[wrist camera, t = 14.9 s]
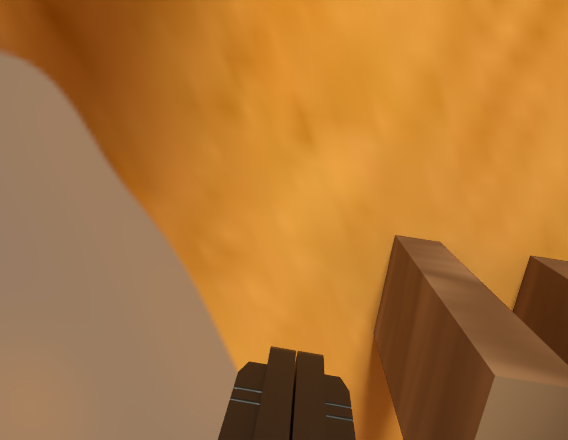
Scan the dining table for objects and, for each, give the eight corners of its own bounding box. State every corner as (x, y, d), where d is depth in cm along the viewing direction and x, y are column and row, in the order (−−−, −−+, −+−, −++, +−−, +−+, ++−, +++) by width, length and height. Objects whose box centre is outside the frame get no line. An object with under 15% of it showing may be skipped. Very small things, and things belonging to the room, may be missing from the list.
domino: (373, 333, 19) (436, 558, 9) (395, 235, 18) (494, 375, 8) (415, 340, 19) (523, 573, 9) (439, 241, 18) (595, 392, 8)
